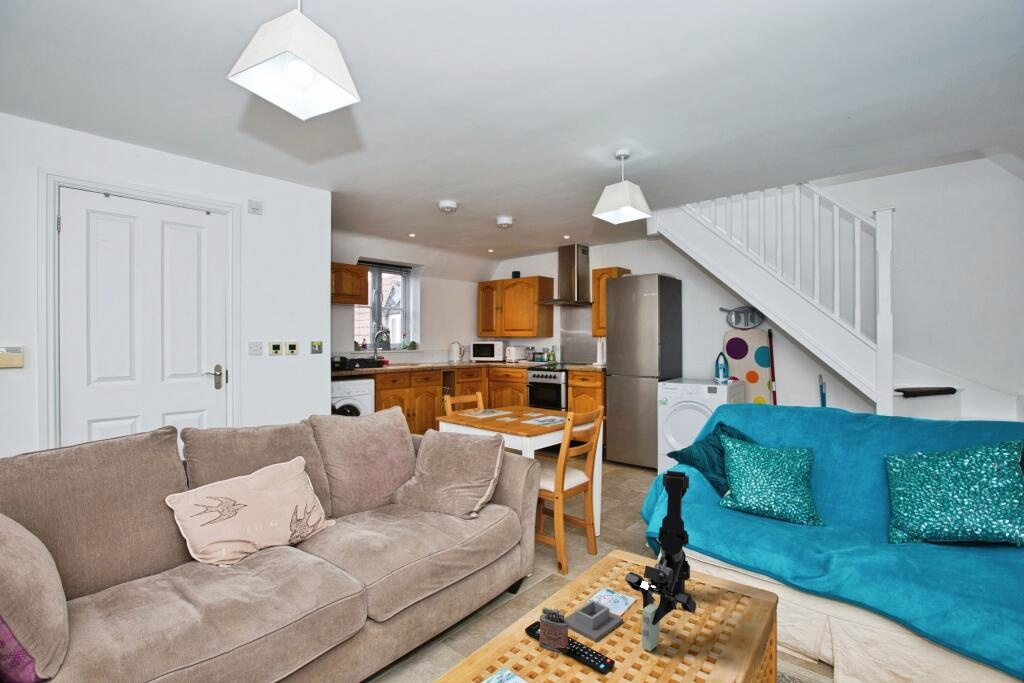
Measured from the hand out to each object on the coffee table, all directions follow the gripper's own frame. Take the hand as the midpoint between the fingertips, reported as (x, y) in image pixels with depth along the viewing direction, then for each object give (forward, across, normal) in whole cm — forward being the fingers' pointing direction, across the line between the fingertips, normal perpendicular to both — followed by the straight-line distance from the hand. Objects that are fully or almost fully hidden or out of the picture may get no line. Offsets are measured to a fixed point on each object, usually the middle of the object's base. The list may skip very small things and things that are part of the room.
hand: (648, 622), depth 130 cm
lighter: (+18, -18, -7) cm, 26 cm away
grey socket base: (+5, -18, +5) cm, 19 cm away
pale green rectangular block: (+4, 0, +6) cm, 7 cm away
